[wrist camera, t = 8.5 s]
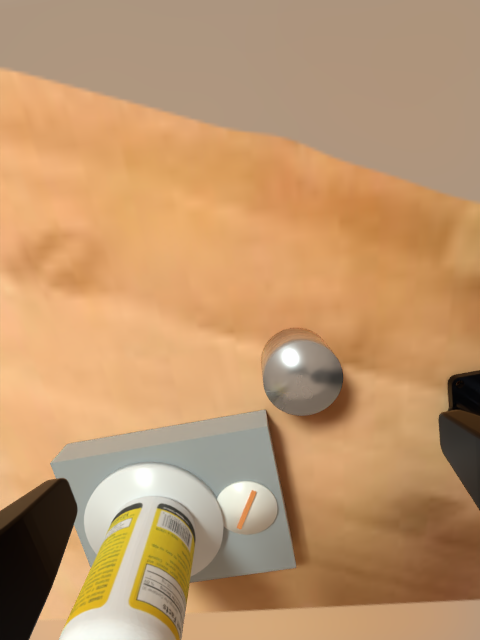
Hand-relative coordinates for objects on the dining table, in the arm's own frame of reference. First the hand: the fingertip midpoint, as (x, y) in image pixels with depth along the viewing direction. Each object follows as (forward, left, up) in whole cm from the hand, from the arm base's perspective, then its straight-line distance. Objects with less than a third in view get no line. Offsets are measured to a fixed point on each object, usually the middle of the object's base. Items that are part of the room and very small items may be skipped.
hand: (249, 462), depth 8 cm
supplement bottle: (+8, +11, -11) cm, 18 cm away
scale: (+7, +12, -13) cm, 19 cm away
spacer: (-3, +3, -13) cm, 14 cm away
